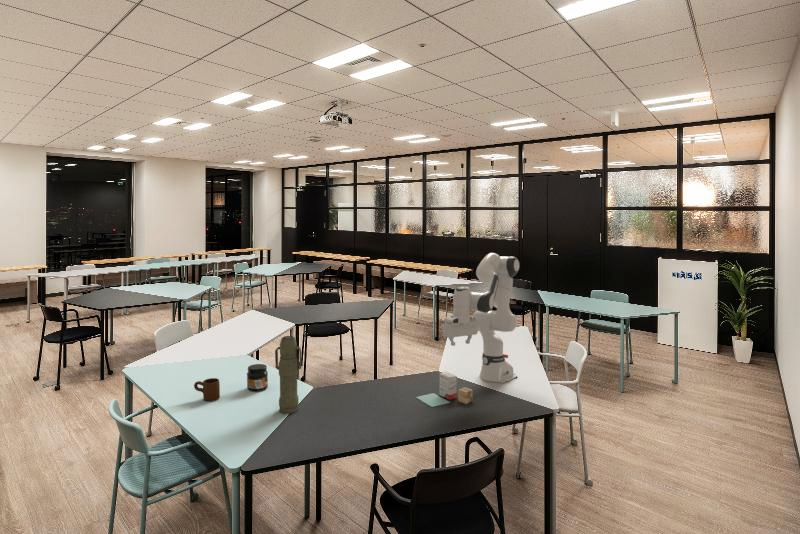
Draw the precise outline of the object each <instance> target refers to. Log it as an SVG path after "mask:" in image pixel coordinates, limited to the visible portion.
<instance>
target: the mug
mask: <svg viewBox="0 0 800 534" xmlns="http://www.w3.org/2000/svg"><path fill="white" fill-rule="evenodd" d="M199 385H200V386H201V387H199ZM193 387H194V390H195V391H197V392H201V393H202V395H203V397H202V398H203V401H205V402H208V403H209V402H215V401H218V400H219V399H220V398H221V395H220V394H221V393H220V389H221V388H220V387H221V385H220V379H219V378H214V377H211V378H206V379H204V380H203V381H201V380H198V381H196V382H194V384H193Z"/></svg>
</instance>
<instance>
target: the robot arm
mask: <svg viewBox="0 0 800 534" xmlns="http://www.w3.org/2000/svg"><path fill="white" fill-rule="evenodd" d="M520 267H521V266H520V260H519V259H518V258H517V257H515V256H500V255H499V254H497V253H496V252H489V253H488V254H486V255H485V256H484V257H483V259H482V260H481V261H480V263H479V264H478V266H477V267H476V271H475V275H476V277H477V279H478V280H479V281H480V282H481V283H483V284H484V285H485V284H486V285H487V289H486V291H485V292H478V291H477V292H476V291H471V288H470V287H469V286H466V285H463V286H456V287H455V289H454V292H453V301H452V305H453V310H452V314H450V315H448V316H445V317H444V319H443V320H444V324H443V327H442V335H443V337H445V338H447V339H449V341H450V345H451V346H453V347H454V346H456V342H455V341H454V339H455V338H459V337H466V336H467V339H465V344H466V345H468V344H470V343H471V340H472V339H473V338H472V337H473V336H474V335H475V336H476V335H477V334H478V333H479V334H480V335H481V337H482V341H483V342H482V343H483V344H482V345H483V347H482V349H483V350H482V351H483V352H482V356H481V357H482V358H481V359H482V363H481V370H480V371H479V372H480V374H479V378H480V379H481V380H484V381H486V382H490V383H491V382H493V383H500V384H501V383H502V384H503V383H506V381H507V382H509V381H511V380H514V379H517V378H518V374H516V373H515V372H514V367H513V365H512V364H510V363H509V362H508V361H506V359H508V358H509V355H508V354H505V353H504V341H503V340H502V338H501V337H500V336H498V335H497V334H496V332H503V333H508V332H510V333H511V332H514V331H515V329H516V328H517V325H518V320H517V318H516V316H515V315H514V314H513V312H512V311H511V309H510V302H511V296H512V291H513V285H514V284H513V283H514V279H513V278H514V277H515V276H516V275H517V274H518V272H519V270H520ZM493 308H496V310H493ZM471 311H475V312H474V313H473V314H472V317H471ZM516 377H517V378H516Z"/></svg>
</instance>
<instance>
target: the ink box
mask: <svg viewBox="0 0 800 534" xmlns="http://www.w3.org/2000/svg"><path fill="white" fill-rule="evenodd" d="M438 374H439V396H440V397H442V398H444V399H445V398H446V400H449V401H451V400H455V399H457V398H458V394H457V393H458V390H457V389H458V388H457V386H458V385H457V380H458V378H457V375H455V374H453V373H451V372H448V371H443V372H439V373H438Z"/></svg>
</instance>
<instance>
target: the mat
mask: <svg viewBox="0 0 800 534" xmlns="http://www.w3.org/2000/svg"><path fill="white" fill-rule="evenodd" d="M415 398H416V399H417V400H419V401H421V402H422V403H424V404H425V405H428V406H429V407H431V408H434V407H438V406H442V405H446V404H447V405H448V404H450V403H451V402H450V400H449V401H448V399H445V398H444V397H442V396H441V395H437V394H436V393H434V392H432V393H428V394H423V395H420V396H416V397H415Z"/></svg>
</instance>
